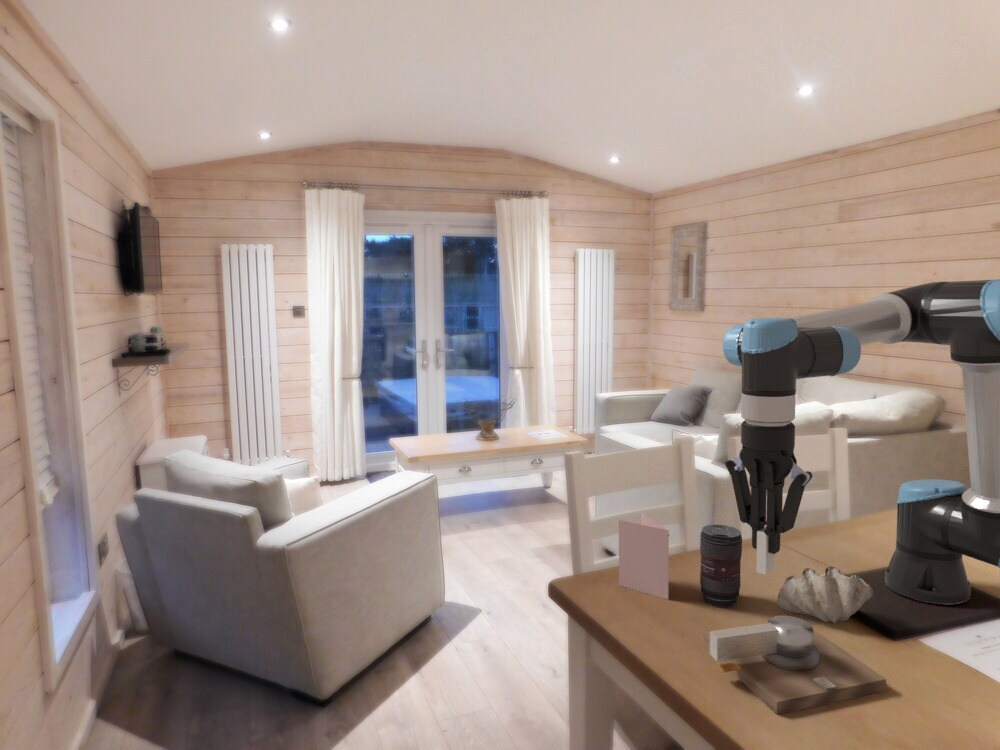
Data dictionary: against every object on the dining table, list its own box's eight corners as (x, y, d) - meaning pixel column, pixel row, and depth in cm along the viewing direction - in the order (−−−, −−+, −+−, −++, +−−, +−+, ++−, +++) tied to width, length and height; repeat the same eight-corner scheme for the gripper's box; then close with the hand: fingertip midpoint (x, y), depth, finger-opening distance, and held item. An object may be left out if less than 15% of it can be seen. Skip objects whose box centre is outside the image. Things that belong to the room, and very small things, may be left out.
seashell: (854, 641, 120) (856, 588, 118) (773, 613, 131) (775, 565, 129) (874, 621, 127) (877, 571, 125) (796, 596, 137) (797, 550, 136)
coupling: (795, 633, 116) (795, 611, 115) (821, 654, 109) (822, 631, 108) (702, 646, 112) (702, 624, 112) (724, 669, 105) (724, 645, 105)
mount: (799, 629, 124) (799, 612, 124) (885, 690, 105) (886, 670, 104) (688, 649, 118) (688, 631, 118) (758, 718, 99) (759, 696, 99)
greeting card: (672, 599, 138) (672, 529, 136) (640, 604, 136) (639, 534, 134) (645, 577, 149) (644, 512, 147) (614, 582, 147) (614, 516, 145)
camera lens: (743, 610, 132) (745, 538, 130) (701, 607, 134) (702, 536, 132) (737, 592, 140) (739, 524, 138) (698, 590, 141) (698, 522, 140)
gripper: (823, 422, 97) (819, 576, 100) (741, 412, 107) (740, 552, 110) (798, 431, 92) (794, 592, 95) (715, 419, 102) (714, 565, 105)
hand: (765, 570), depth 102 cm, fingers closed
